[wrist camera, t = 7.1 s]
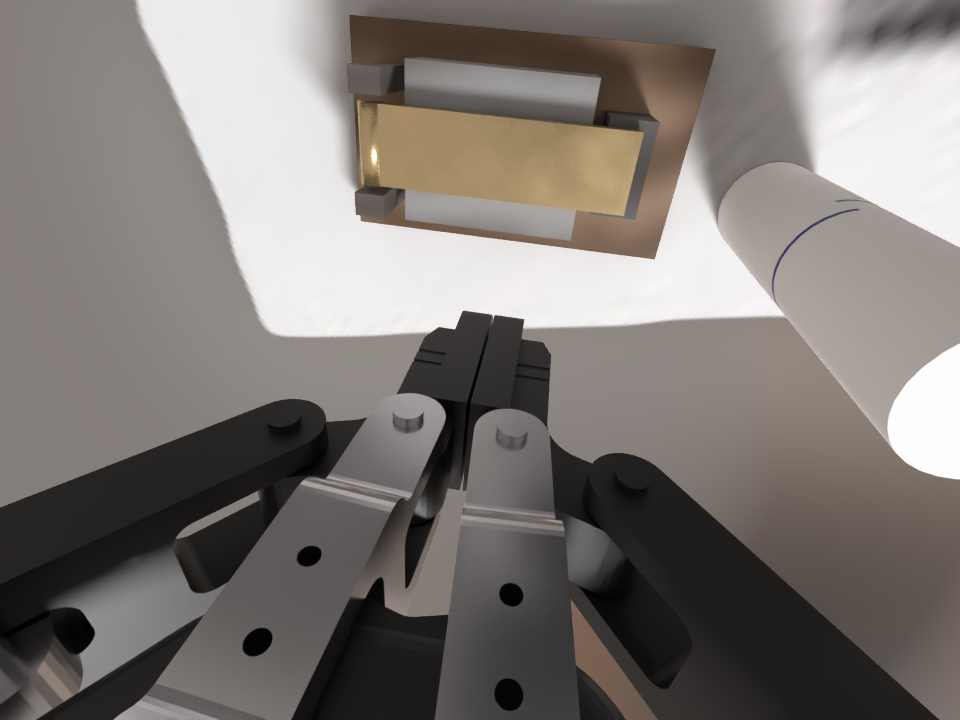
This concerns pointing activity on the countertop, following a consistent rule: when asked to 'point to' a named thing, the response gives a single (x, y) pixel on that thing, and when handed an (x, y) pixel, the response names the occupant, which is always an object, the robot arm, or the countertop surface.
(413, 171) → the plate
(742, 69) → the countertop surface
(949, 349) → the cylindrical container
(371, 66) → the stand
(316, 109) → the countertop surface
